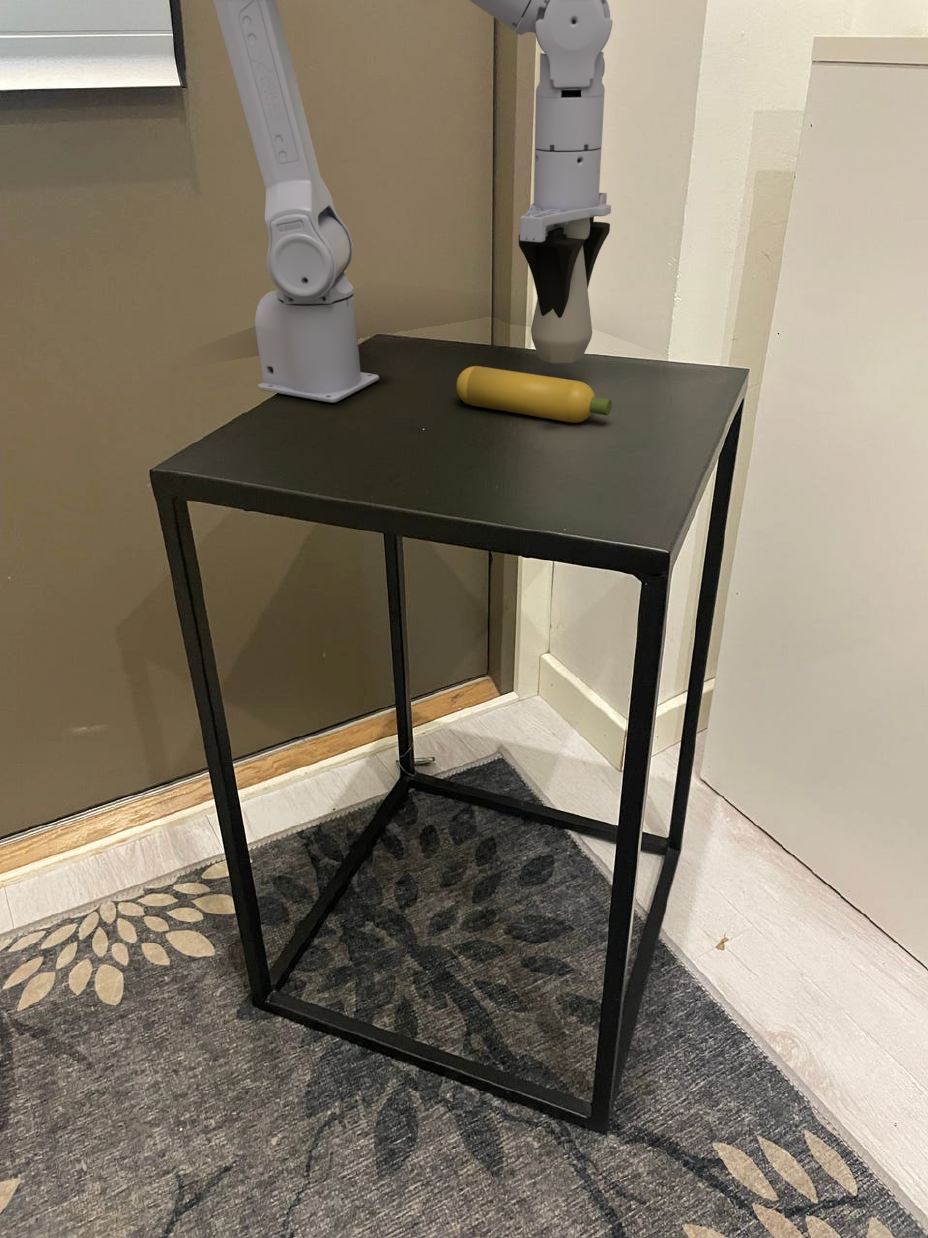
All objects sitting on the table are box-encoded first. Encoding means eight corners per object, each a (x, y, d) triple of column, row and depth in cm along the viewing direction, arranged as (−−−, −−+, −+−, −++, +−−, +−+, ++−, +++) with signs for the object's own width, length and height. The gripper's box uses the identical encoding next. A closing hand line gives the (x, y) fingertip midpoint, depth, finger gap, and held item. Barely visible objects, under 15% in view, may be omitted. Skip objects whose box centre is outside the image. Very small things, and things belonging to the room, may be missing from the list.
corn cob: (449, 407, 86) (448, 369, 84) (468, 396, 88) (467, 358, 87) (600, 433, 80) (602, 393, 78) (615, 420, 82) (618, 381, 80)
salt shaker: (593, 365, 86) (602, 215, 79) (531, 366, 86) (536, 216, 79) (586, 348, 91) (595, 205, 84) (528, 349, 91) (532, 206, 84)
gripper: (577, 159, 72) (570, 334, 79) (641, 140, 82) (630, 296, 90) (497, 156, 75) (497, 325, 82) (569, 138, 85) (563, 290, 93)
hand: (562, 310), depth 86 cm, fingers closed on salt shaker, 4 cm apart
